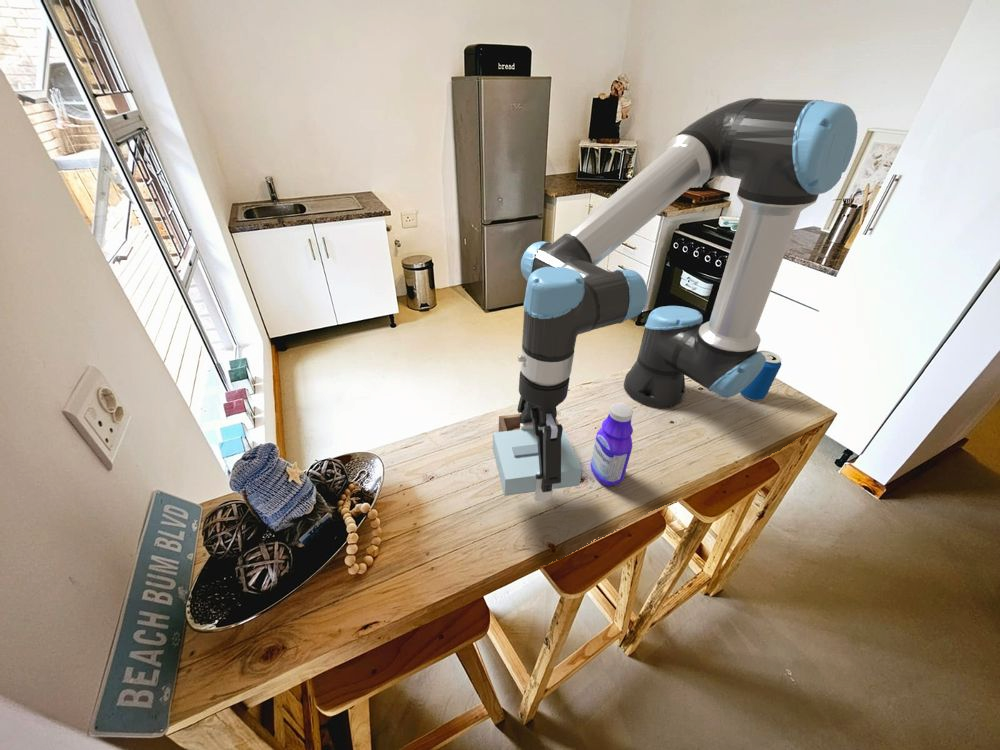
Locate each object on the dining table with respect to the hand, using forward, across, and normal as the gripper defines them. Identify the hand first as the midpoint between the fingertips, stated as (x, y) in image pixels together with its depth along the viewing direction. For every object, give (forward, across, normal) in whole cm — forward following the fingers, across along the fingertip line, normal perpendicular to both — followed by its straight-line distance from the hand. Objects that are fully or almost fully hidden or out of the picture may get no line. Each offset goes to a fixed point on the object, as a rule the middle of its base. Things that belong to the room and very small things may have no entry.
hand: (533, 472), depth 75 cm
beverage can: (+8, -23, +66) cm, 71 cm away
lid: (-2, 0, 0) cm, 2 cm away
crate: (+8, -13, +3) cm, 16 cm away
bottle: (+8, -4, +17) cm, 19 cm away
